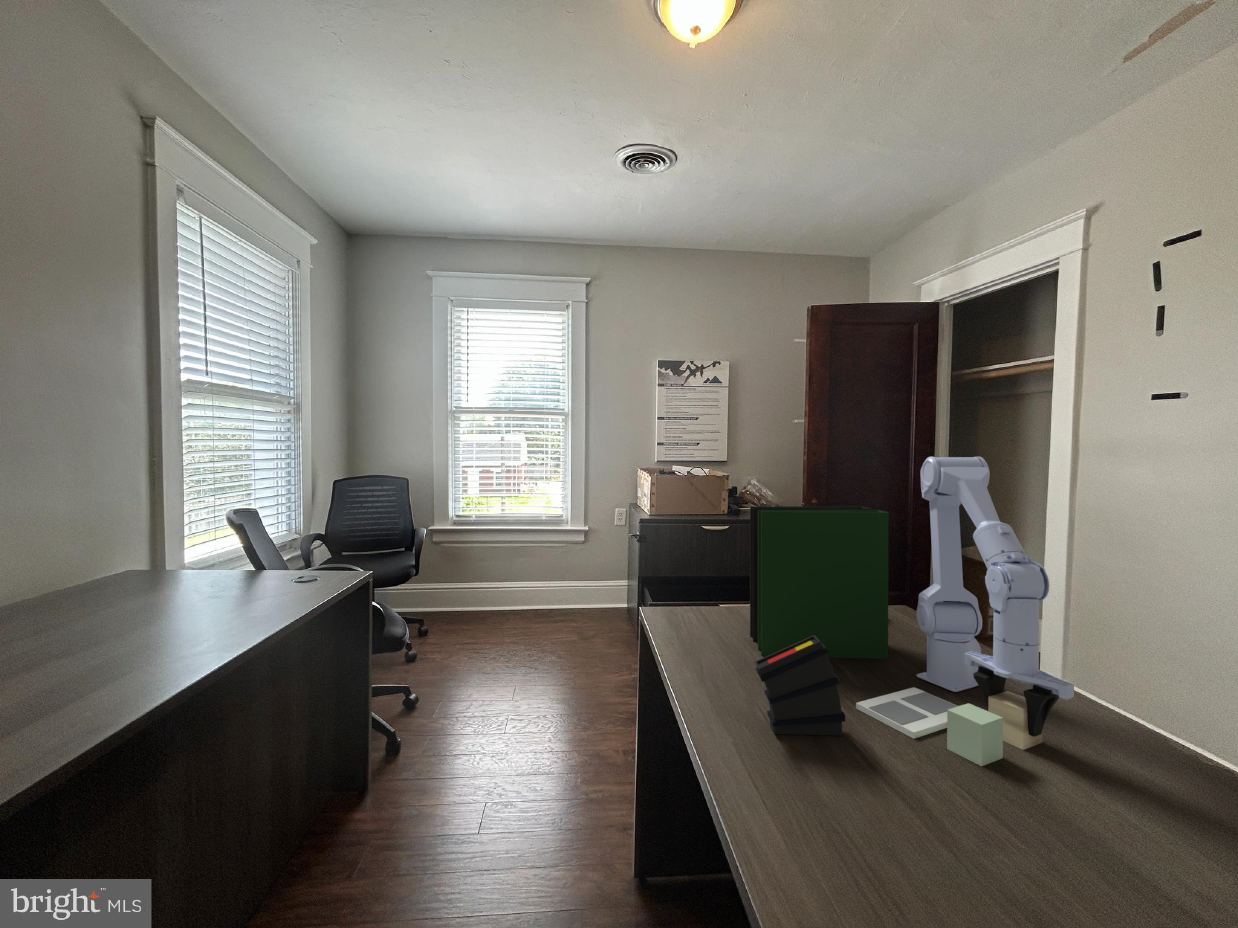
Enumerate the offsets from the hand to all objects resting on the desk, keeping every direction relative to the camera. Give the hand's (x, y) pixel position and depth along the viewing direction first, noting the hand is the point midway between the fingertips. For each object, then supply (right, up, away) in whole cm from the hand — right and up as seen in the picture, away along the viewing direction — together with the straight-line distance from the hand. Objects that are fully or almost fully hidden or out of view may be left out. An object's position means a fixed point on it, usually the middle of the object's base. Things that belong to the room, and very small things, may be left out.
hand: (1015, 725), depth 83 cm
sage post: (-9, -2, -4) cm, 10 cm away
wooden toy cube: (0, -2, 0) cm, 2 cm away
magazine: (-33, -2, +3) cm, 33 cm away
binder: (-16, -2, +41) cm, 44 cm away
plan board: (-11, -2, +8) cm, 14 cm away
